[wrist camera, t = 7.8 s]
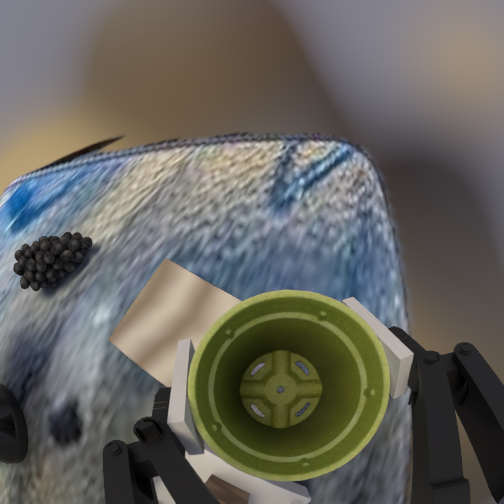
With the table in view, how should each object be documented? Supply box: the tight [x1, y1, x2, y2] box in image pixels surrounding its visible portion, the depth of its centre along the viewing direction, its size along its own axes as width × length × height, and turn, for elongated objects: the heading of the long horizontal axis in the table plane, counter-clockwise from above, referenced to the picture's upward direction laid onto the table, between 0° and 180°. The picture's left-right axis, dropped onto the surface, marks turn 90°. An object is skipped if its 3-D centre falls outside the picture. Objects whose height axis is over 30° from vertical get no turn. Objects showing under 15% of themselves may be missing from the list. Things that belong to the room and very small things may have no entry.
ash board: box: [108, 258, 242, 387], centre depth 33 cm, size 14×14×1 cm
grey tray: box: [153, 441, 311, 504], centre depth 21 cm, size 16×12×4 cm
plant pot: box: [188, 290, 390, 482], centre depth 15 cm, size 9×9×9 cm
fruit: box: [14, 232, 92, 291], centre depth 35 cm, size 9×8×15 cm
